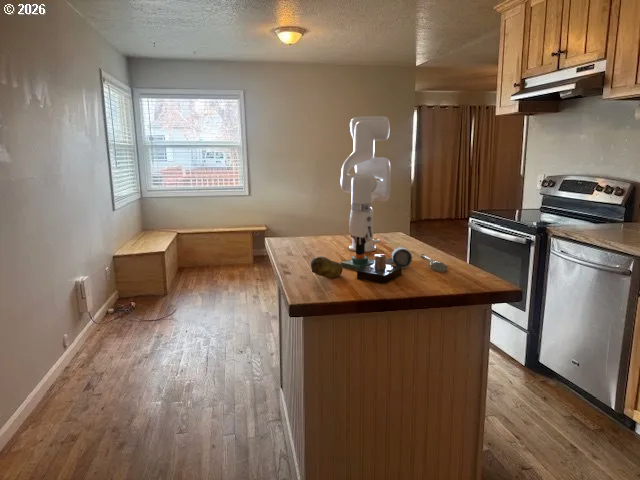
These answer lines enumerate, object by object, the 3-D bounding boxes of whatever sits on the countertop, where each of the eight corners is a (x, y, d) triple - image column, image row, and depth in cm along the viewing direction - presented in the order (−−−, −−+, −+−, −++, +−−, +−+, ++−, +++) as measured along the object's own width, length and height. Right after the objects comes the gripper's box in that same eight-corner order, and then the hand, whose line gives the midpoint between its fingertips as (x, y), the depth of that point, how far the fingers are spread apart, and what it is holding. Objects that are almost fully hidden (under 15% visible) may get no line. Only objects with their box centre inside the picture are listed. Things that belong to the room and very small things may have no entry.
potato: (348, 279, 157) (348, 257, 156) (313, 282, 153) (313, 260, 152) (340, 272, 165) (340, 252, 163) (307, 275, 161) (307, 254, 160)
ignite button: (359, 256, 177) (359, 252, 177) (366, 258, 174) (366, 253, 174) (353, 258, 174) (353, 253, 174) (360, 259, 172) (360, 255, 172)
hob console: (375, 270, 169) (375, 262, 168) (401, 274, 162) (402, 266, 162) (356, 278, 157) (357, 270, 157) (384, 284, 151) (384, 275, 151)
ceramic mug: (409, 263, 179) (409, 244, 177) (412, 268, 170) (412, 249, 169) (382, 263, 179) (383, 245, 178) (384, 268, 171) (384, 249, 170)
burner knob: (373, 269, 158) (373, 255, 157) (376, 266, 162) (376, 252, 161) (383, 270, 157) (384, 256, 156) (386, 268, 160) (387, 253, 159)
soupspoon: (432, 273, 166) (449, 274, 167) (433, 265, 166) (450, 265, 166) (415, 257, 188) (430, 257, 188) (416, 249, 187) (431, 250, 187)
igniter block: (359, 260, 183) (360, 252, 182) (379, 265, 176) (379, 256, 175) (340, 266, 174) (340, 257, 174) (359, 271, 167) (359, 262, 167)
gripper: (381, 209, 166) (379, 256, 170) (356, 205, 178) (355, 249, 182) (366, 210, 162) (365, 258, 166) (341, 206, 174) (341, 251, 178)
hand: (360, 253), depth 174 cm, fingers closed
